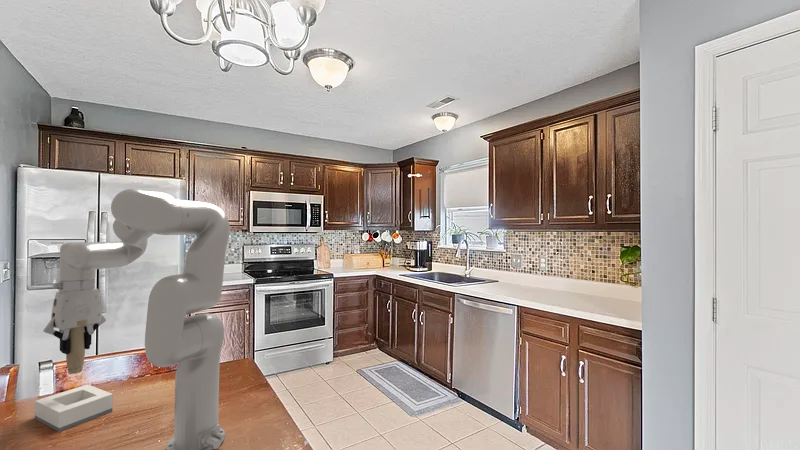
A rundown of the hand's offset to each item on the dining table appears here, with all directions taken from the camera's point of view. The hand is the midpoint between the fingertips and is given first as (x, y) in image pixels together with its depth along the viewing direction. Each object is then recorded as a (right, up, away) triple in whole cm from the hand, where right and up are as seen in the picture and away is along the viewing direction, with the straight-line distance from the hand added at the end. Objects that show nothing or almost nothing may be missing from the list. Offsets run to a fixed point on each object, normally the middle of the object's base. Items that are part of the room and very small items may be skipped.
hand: (75, 350), depth 103 cm
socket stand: (0, -18, 0) cm, 18 cm away
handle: (0, -6, 0) cm, 6 cm away
